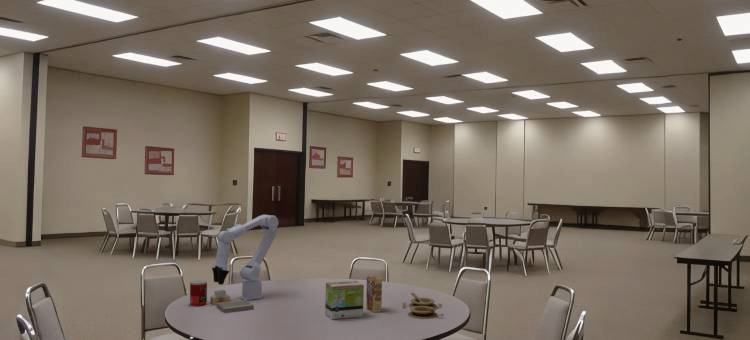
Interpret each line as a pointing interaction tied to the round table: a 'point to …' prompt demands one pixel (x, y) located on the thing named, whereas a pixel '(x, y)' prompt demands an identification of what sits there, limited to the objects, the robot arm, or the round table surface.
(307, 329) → the round table surface
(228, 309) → the dock
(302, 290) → the round table surface
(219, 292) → the grey block
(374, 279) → the candy box
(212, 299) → the pallet
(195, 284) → the canned food
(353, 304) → the tea box
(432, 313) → the tableware set
